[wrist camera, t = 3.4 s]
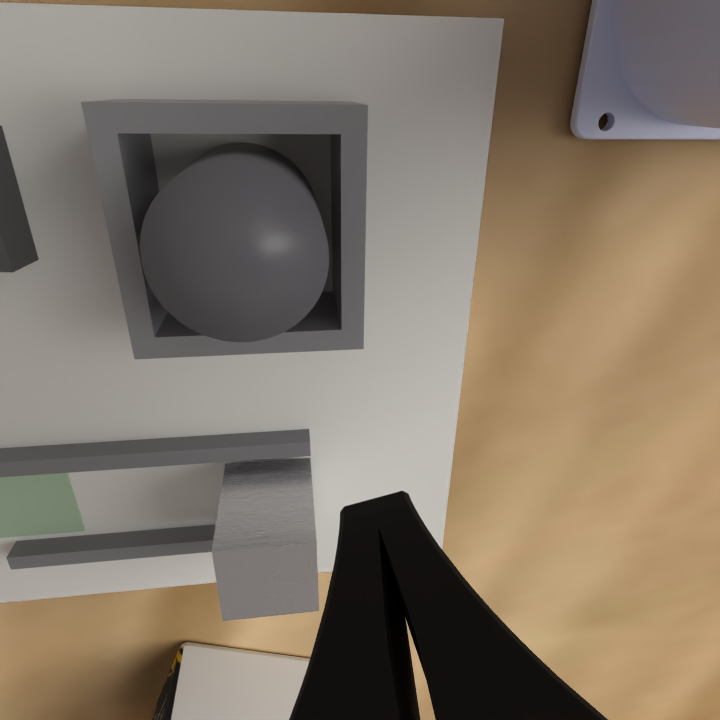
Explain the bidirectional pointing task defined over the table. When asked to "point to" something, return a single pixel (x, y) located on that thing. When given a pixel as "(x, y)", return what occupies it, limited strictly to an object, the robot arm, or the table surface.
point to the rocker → (13, 218)
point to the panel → (208, 355)
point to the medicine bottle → (230, 684)
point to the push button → (236, 244)
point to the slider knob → (266, 540)
